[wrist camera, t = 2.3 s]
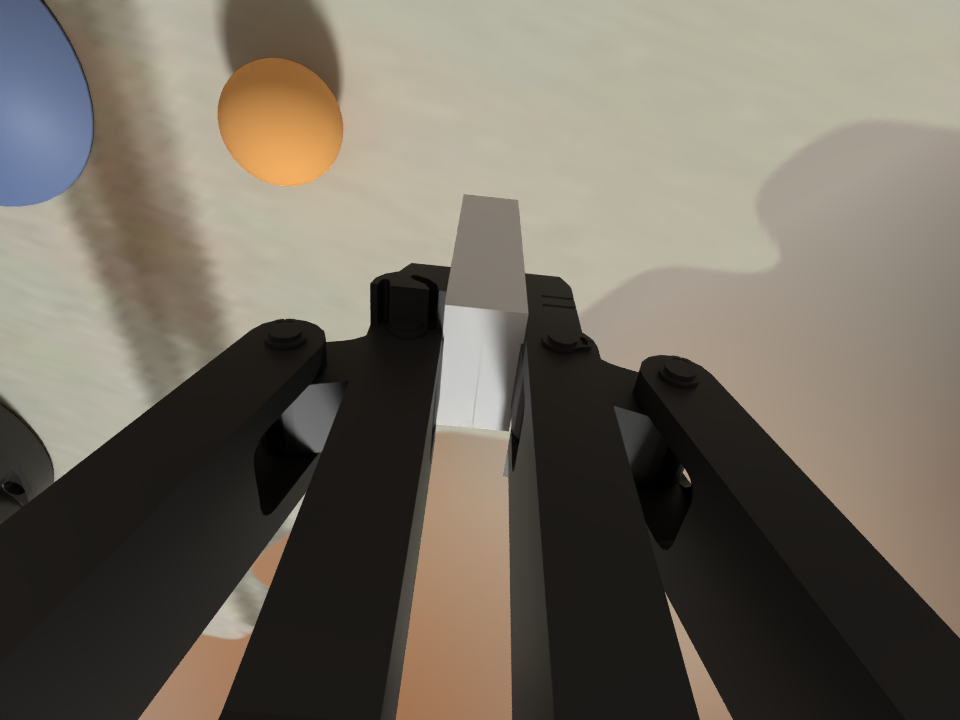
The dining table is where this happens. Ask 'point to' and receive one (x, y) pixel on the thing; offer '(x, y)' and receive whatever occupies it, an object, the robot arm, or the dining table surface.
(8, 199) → the disc
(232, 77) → the ball
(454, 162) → the dining table surface
